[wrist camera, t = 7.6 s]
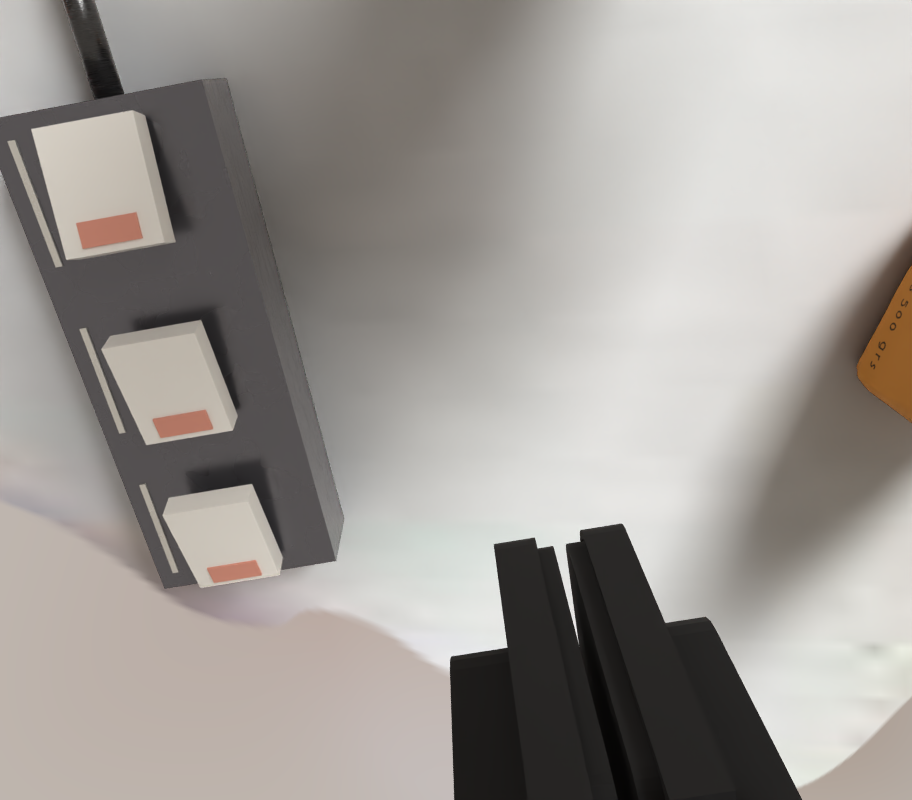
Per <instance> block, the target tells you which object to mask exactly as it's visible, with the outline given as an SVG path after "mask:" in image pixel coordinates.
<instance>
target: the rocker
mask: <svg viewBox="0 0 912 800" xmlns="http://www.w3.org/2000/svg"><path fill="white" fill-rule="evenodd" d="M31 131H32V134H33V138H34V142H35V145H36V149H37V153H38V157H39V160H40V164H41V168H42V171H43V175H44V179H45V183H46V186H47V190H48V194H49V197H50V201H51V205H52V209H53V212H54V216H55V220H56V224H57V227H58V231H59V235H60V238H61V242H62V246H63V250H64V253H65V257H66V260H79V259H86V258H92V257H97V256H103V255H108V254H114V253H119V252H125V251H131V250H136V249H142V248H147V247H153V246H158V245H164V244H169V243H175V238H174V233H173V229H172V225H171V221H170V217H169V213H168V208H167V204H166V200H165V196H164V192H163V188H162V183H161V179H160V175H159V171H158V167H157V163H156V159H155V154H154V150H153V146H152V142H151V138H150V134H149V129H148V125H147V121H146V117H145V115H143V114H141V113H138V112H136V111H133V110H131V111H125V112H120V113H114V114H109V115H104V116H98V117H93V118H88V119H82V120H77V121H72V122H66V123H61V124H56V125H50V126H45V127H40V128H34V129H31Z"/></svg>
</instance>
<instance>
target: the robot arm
mask: <svg viewBox="0 0 912 800" xmlns="http://www.w3.org/2000/svg"><path fill="white" fill-rule="evenodd" d="M580 541H581V542H576V543H569V544H566V552H567V559H568V567H569V574H570V582H571V589H572V596H573V604H574V611H575V618H576V626H577V633H578V640H579V644H578V640H577V636H576V632H575V629H574V625H573V621H572V617H571V613H570V609H569V605H568V601H567V597H566V594H565V590H564V586H563V582H562V578H561V574H560V570H559V566H558V562H557V559H556V555H555V551H554V547H553V546H551V547H545V548H538V549H537V545H536V541H535V538H529V539H523V540H517V541H511V542H505V543H498V544H494V549H495V557H496V564H497V572H498V579H499V587H500V594H501V602H502V609H503V617H504V624H505V632H506V639H507V647H508V648H503V649H497V650H491V651H484V652H478V653H471V654H465V655H459V656H452V657H451V660H450V681H451V713H452V742H453V771H454V772H453V773H454V800H802V799H801V797H800V795H799V793H798V791H797V789H796V787H795V785H794V783H793V781H792V779H791V777H790V775H789V773H788V771H787V769H786V767H785V765H784V763H783V761H782V759H781V757H780V755H779V753H778V751H777V749H776V747H775V745H774V743H773V741H772V739H771V737H770V736H769V734H768V732H767V730H766V728H765V726H764V724H763V722H762V720H761V718H760V716H759V714H758V712H757V710H756V708H755V706H754V704H753V702H752V700H751V698H750V696H749V694H748V692H747V690H746V688H745V686H744V684H743V682H742V680H741V678H740V676H739V675H738V673H737V671H736V669H735V667H734V665H733V663H732V661H731V659H730V657H729V655H728V653H727V651H726V649H725V647H724V645H723V643H722V641H721V639H720V637H719V635H718V633H717V631H716V629H715V628H714V626H713V624H712V623H711V621H710V620H709V619H708V618H706V617H702V618H695V619H689V620H683V621H676V622H670V623H665V622H664V619H663V617H662V614H661V612H660V610H659V607H658V605H657V603H656V600H655V598H654V596H653V593H652V591H651V588H650V586H649V584H648V581H647V579H646V577H645V574H644V572H643V570H642V567H641V565H640V562H639V560H638V558H637V555H636V553H635V551H634V548H633V546H632V544H631V541H630V539H629V536H628V534H627V532H626V529H625V527H624V526H623V524H616V525H610V526H604V527H597V528H591V529H585V530H580Z"/></svg>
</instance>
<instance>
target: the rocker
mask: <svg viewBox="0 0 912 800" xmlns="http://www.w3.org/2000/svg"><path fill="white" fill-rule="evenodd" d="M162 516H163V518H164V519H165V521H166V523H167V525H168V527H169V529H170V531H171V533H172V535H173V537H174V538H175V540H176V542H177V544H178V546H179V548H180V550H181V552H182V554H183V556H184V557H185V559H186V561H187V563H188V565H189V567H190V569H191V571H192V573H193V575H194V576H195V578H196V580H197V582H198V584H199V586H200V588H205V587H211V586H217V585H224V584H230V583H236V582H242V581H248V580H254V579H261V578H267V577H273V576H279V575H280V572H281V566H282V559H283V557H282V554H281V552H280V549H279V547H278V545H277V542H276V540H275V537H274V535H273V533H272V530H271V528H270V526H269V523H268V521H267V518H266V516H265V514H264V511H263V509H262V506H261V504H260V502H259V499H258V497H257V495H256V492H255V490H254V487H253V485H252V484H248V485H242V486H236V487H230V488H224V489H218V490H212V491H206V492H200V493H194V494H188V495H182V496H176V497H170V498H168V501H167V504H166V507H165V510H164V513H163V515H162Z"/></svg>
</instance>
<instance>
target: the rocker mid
mask: <svg viewBox="0 0 912 800" xmlns="http://www.w3.org/2000/svg"><path fill="white" fill-rule="evenodd" d="M101 350H102V352H103V354H104V357H105V359H106V361H107V363H108V365H109V367H110V369H111V371H112V373H113V376H114V378H115V380H116V382H117V384H118V386H119V388H120V390H121V392H122V395H123V397H124V399H125V401H126V403H127V405H128V407H129V409H130V412H131V414H132V416H133V418H134V420H135V422H136V424H137V426H138V428H139V431H140V433H141V435H142V437H143V439H144V441H145V443H146V445H150V444H156V443H162V442H168V441H174V440H180V439H186V438H192V437H198V436H203V435H209V434H215V433H221V432H227V431H233V429H234V426H235V423H236V420H237V417H238V415H237V412H236V410H235V407H234V405H233V402H232V399H231V397H230V394H229V391H228V389H227V386H226V384H225V381H224V378H223V376H222V373H221V371H220V368H219V365H218V363H217V360H216V358H215V355H214V352H213V350H212V347H211V344H210V342H209V339H208V337H207V334H206V331H205V329H204V326H203V324H202V321H201V320H198V321H192V322H186V323H181V324H175V325H169V326H164V327H158V328H152V329H147V330H141V331H135V332H130V333H124V334H118V335H112V336H110V337H109V339H108V340H107V341H106V343H105V344H104V346H103V347H102V349H101Z"/></svg>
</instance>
